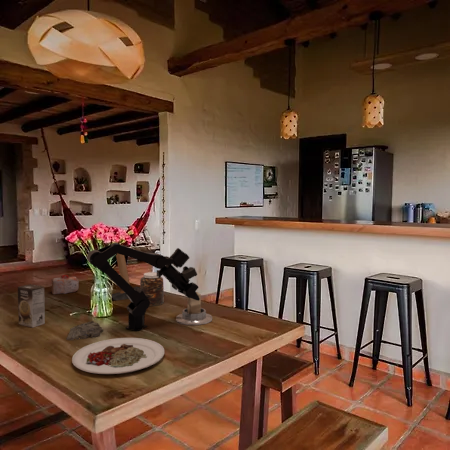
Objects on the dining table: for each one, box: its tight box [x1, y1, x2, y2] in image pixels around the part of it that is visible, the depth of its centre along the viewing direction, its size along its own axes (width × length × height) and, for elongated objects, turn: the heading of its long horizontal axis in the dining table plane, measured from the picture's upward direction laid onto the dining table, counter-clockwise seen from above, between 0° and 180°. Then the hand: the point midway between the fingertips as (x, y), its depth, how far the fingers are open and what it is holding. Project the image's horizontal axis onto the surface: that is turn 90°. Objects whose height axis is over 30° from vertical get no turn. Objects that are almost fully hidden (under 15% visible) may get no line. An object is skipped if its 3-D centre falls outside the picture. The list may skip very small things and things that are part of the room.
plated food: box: [71, 337, 165, 375], centre depth 137 cm, size 30×30×3 cm
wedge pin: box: [187, 291, 202, 313], centre depth 179 cm, size 4×4×9 cm
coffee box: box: [17, 283, 46, 328], centre depth 171 cm, size 9×6×16 cm
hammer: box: [111, 254, 140, 301], centre depth 214 cm, size 20×5×30 cm, turn 121°
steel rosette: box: [175, 307, 213, 326], centre depth 179 cm, size 16×16×4 cm
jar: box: [139, 271, 165, 307], centre depth 206 cm, size 12×12×15 cm
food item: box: [51, 274, 79, 295], centre depth 227 cm, size 14×8×10 cm, turn 121°
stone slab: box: [65, 320, 104, 341], centre depth 162 cm, size 13×17×3 cm
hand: (196, 298), depth 179 cm, fingers closed on wedge pin, 4 cm apart
